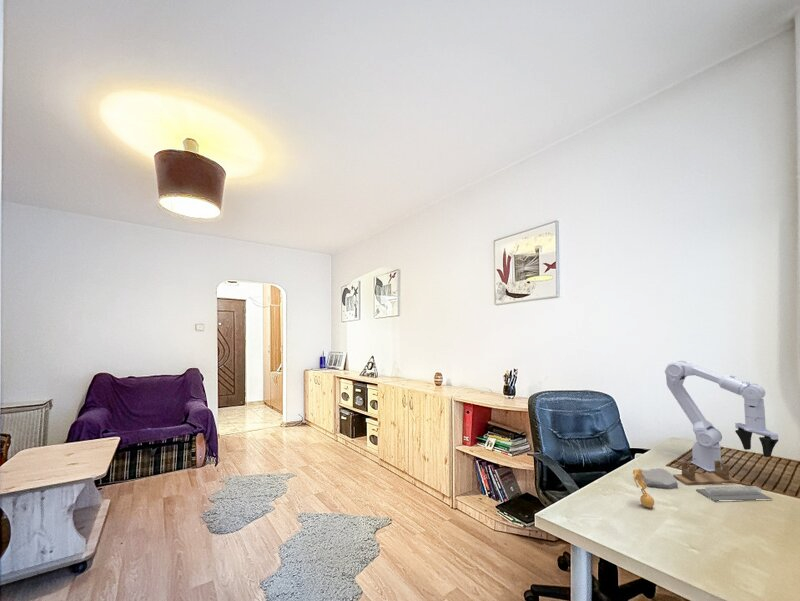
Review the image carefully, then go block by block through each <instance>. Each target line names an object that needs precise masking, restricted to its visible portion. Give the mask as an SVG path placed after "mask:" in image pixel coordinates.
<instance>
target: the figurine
mask: <svg viewBox="0 0 800 601" xmlns="http://www.w3.org/2000/svg"><path fill="white" fill-rule="evenodd" d="M638 469H639V470H637V469H633V470H632V474H633V480H634V482H635V485H636V487H637V488H638V489H640V487H641V489H640V490H641V493H642V495H641V496H640V497H639V498H640V503H641V504H642V506H643V507H646V508H653V507H654V505H655V499H654V498H653V496H651V495H650V494H649V493H648V492H646V489H647V488H648V486H647V485H646V484H645V483H644V481H643V480H642V476H643V477H644V478H645V479H646V477H645V476H644V475H643V474H642V470H643V469H641V468H638ZM636 478H637V479H636ZM646 480H647V479H646Z"/></svg>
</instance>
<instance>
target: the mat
mask: <svg viewBox="0 0 800 601" xmlns="http://www.w3.org/2000/svg"><path fill="white" fill-rule="evenodd" d="M695 491H696V492H698V493H699V494H700V493H701V494H700V495H702V494H703V495H702V496H704V495H705V496H707V497H709V498H711V499H712V500H714V501H719V500H756V499H772V500H773V498H772V497H770V496H768V495H767V494H764V493H762V492H761V494H758V495H724V496H710V495H708V494H706V488H697V489H695ZM705 496H704V497H705ZM707 497H706V498H707ZM709 498H708V499H709ZM712 500H711V501H712ZM714 501H713V502H714Z"/></svg>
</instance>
